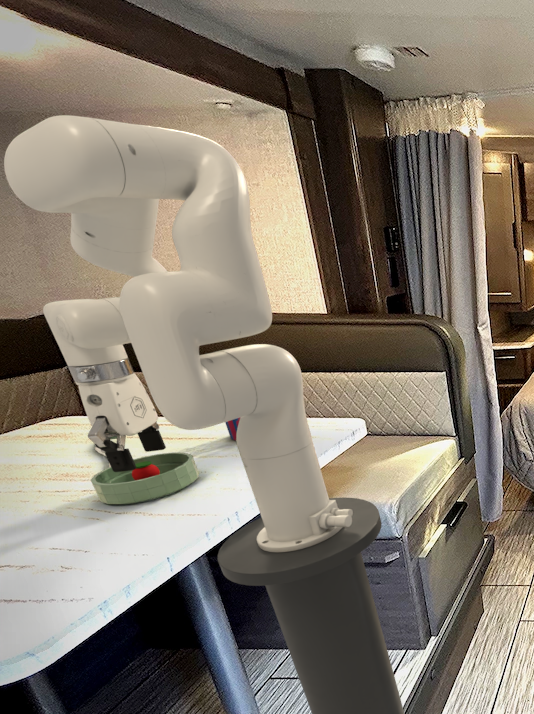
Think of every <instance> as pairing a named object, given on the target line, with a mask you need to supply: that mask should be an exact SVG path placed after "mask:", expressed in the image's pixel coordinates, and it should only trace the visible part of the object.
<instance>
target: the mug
mask: <svg viewBox="0 0 534 714" xmlns="http://www.w3.org/2000/svg"><path fill="white" fill-rule="evenodd" d="M240 418H241V417H240ZM240 418H237V419H233V420H230V421H227V422H224V424H225V427H226V429H227V432H228V434H229V437H230V439H231V440H232V441H236V434H237V428H238V424H239V421H240Z"/></svg>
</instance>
